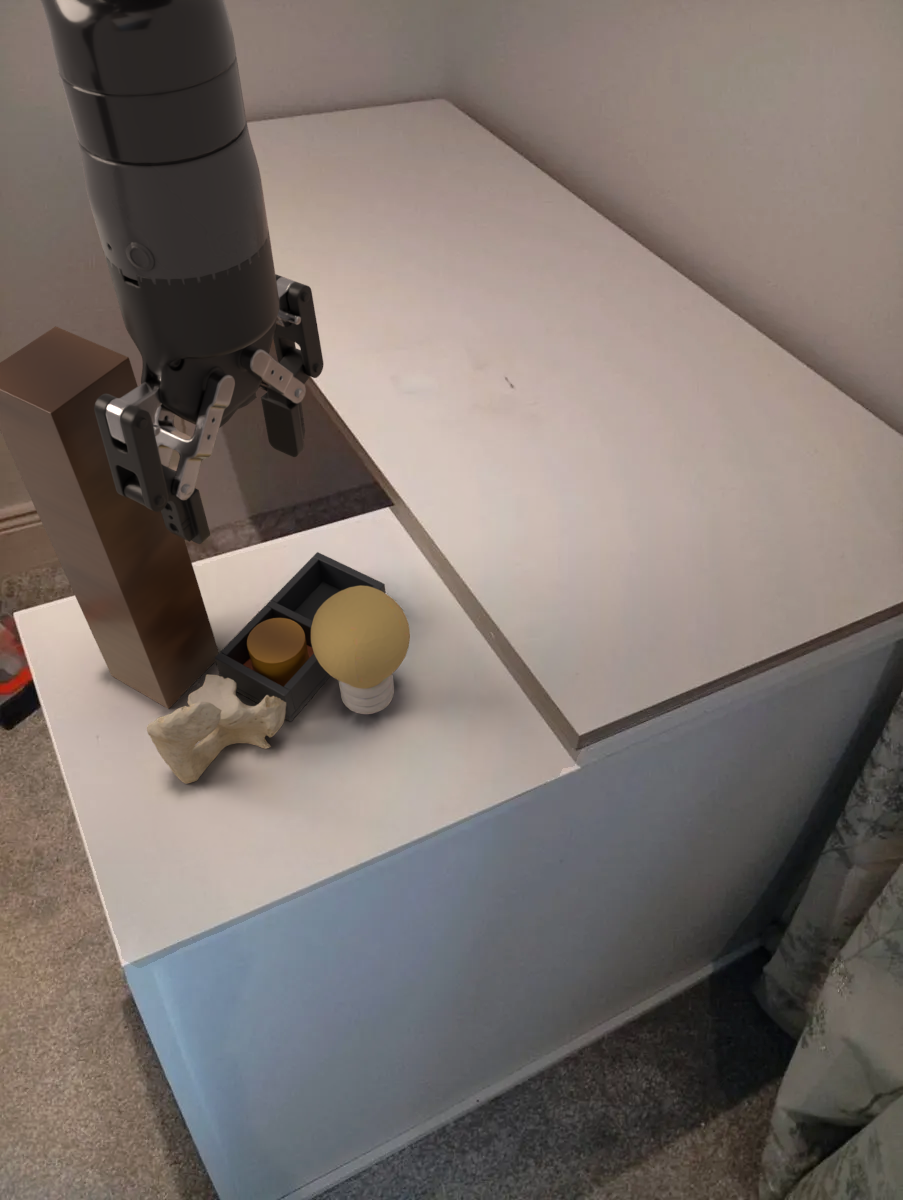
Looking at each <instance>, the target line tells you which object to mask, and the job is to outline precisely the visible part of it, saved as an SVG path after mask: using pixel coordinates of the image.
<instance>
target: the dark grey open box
mask: <svg viewBox="0 0 903 1200" xmlns="http://www.w3.org/2000/svg"><path fill="white" fill-rule="evenodd" d="M354 586H369V587H373V588H375V589H378V590H380V591H382V592H384V593H385V594H386V584H385V583H384V582H381V581H379V580H377V579H376V578H373V577H371V576H369V575H367V574H365V573H363V572H361V571H359V570H357V569H354V568H352V567H351V566H349V565H348V566H347V565H346V564H344V563H342V562H339V561H337V560H335V559H333V558H331V557H329V556H327V555H325V554H323V553H321V552H319V551H317V552H316V553H315V554H313V555H312V557H311V558H310V559H309V560H308V561H307V562H306V563H305V564H304V565H303V566H302V567H301V568H300V569H299V570H298V571H297V572H296V573H295V574H294V575H293V576H292V577H291V578H290V579H289V580H288V582H287V583H285V584H284V586H283V587H281V589H279V591H278V592H277V593H276V594H275V595H274V596H273V597H272V598H271V599H270V600H269V601H268V602H267V603H266V604H265V605H264V606H263V607H262V608H261V609H260V610H259V611H258V613H256V615H254V617H253V618H251V619H250V620H249V621H248V623H246V624H245V626H243V628H242V629H241V630H239V631H238V633H237V634H236V635H235V636H234V637H233V638H232V639H231V640H230V641H229V642H228V643H227V644H226V645H225V646H224V647H223V648H222V649H221V650H220V651H219V654H218V655H217V656H216V657H215V664H216V667H217V670H218V673H219V674H218V675H219V676H220V677H223V678H224V679H226V678H229V679H232V680H234V681H235V682H236V693H238V694H239V695H242V696H243V697H245V698H247V699H249V700H251V701H253V702H255V703H256V704H259V703H260V702H261V701H262V700H263V699H264V697H265V696H266V695H268V696H269V697H272V696H274V697H277V698H280V699H281V700H283V701H284V702H286V712H285V719H284V720H286V721H289V722H292V721H293V720H294V719H295V718H296V717H297V715H299V713H300V712H301V711H302V710H303V708H305V706H306V705H307V704H308V703H309V701H311V699H312V698H313V697H314V696H315V695H316V693H317V692H318V691H319V690H320V689H321V688H322V686H323V685H324V684H325V683H326V682H327V681H328V680H329V679H330V677H332V676H331V675H330V674H329V673H327V672H326V671H325V670H324V669H323V667H322V666H321V665H320V664H319V662H318V660H317V658H316V656H315V655H314V651H313V648H312V644H311V626H312V622H313V619H314V616H315V614H316V612H317V610H318V609H319V608H320V606H321V605H322V604H323V603H324V602H325V601H326V600H327V599H329V598H330V597H331V596H333V595H334V594H336V593H338V592H340V591H342V590H344V589H347V588H350V587H354ZM272 618H286V619H290V620H292V621H294V622H296V623H297V624H299V625H300V626H301V627H302V629H303V631H304V634H305V638H306V643H307V649H308V654H309V659H308V660H307V661H306V662H305V663H304V665H303V666H302V667H301V668H300V669H299V670H298V671H297V672H296V674H295V675H294V676H293V677H292V678H291V679H290V680H289V681H288V682H287V684H286V685H285V686H284V687H283V686H281V685H279V684H277V683H276V682H274V681H272V680H270V679H268V678H266V677H264V676H263V675H261V674H259V673H257V672H255V671H253V667H252V663H251V659H250V656H249V652H248V648H247V639H248V636H249V634H250V632H251V631H252V630H253V628H254V627H256V626H257V625H258V624H260V623H261V622H263V621H265V620H268V619H272Z"/></svg>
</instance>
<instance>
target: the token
mask: <svg viewBox="0 0 903 1200" xmlns="http://www.w3.org/2000/svg"><path fill="white" fill-rule="evenodd" d="M247 648H248V652H249V656H250V659H251V663H252V667H253V671H255V672H257V673H259V674H261V675H263V676H264V677H266V678H268V679H270V680H272V681H274V682H276V683H277V684H279V685H281V686H283V687H284V686H285V685H286V684H287V682H288V681H289V680H290V679H291V678H292V677H293V676H294V675H295V674H296V672H297V671H298V670H299V669H300V668H301V667H302V666H303V665H304V663H305V662H306V661H307V660H308V659H309V654H308V649H307V643H306V638H305V634H304V631H303V629H302V627H301V626H300V625H299V624H297V623H296V622H294V621H292V620H290V619H286V618H272V619H268V620H265V621H263V622H261V623H260V624H258V625H257V626H256V627H254V628H253V630H252V631H251V632H250V634H249V636H248V639H247Z"/></svg>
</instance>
